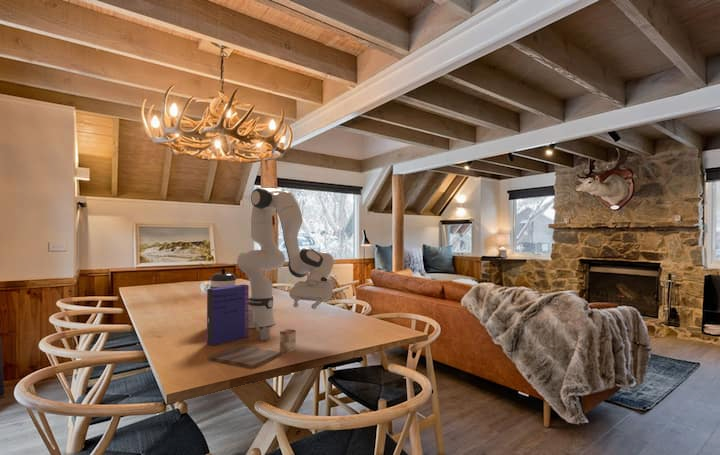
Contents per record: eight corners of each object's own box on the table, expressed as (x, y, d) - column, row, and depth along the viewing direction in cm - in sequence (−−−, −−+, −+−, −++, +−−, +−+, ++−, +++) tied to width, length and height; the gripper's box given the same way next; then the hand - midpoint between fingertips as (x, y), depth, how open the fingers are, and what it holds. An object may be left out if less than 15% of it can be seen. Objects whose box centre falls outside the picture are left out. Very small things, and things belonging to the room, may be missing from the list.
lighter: (269, 338, 169) (269, 320, 169) (269, 339, 167) (269, 321, 167) (253, 339, 167) (253, 321, 167) (253, 340, 166) (253, 322, 166)
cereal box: (242, 335, 173) (242, 284, 173) (248, 337, 170) (248, 285, 170) (206, 344, 160) (207, 288, 160) (212, 346, 157) (212, 289, 157)
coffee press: (199, 329, 184) (199, 269, 185) (220, 322, 200) (220, 266, 200) (228, 332, 179) (229, 270, 180) (247, 324, 195) (248, 267, 195)
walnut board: (207, 359, 140) (207, 356, 140) (237, 347, 155) (237, 344, 155) (253, 368, 131) (253, 365, 131) (280, 355, 146) (280, 351, 146)
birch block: (279, 351, 151) (280, 331, 151) (286, 348, 155) (286, 328, 155) (289, 352, 149) (289, 332, 149) (295, 349, 153) (295, 330, 153)
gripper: (294, 277, 174) (281, 301, 165) (332, 279, 166) (321, 304, 156) (299, 285, 178) (287, 309, 169) (337, 287, 170) (326, 313, 160)
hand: (304, 307), depth 163 cm, fingers open, 8 cm apart
